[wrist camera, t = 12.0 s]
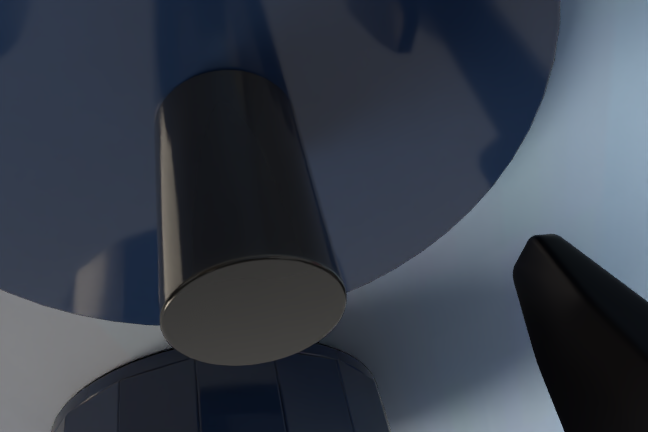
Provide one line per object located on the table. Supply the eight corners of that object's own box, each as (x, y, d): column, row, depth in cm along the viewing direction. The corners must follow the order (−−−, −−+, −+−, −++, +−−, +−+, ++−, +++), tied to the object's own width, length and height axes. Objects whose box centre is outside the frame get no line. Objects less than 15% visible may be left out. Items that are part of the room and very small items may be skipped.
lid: (553, -508, 7) (985, -576, 3) (524, 202, 17) (630, 380, 13) (-458, -159, 7) (-1008, 107, 4) (82, 339, 17) (68, 549, 13)
